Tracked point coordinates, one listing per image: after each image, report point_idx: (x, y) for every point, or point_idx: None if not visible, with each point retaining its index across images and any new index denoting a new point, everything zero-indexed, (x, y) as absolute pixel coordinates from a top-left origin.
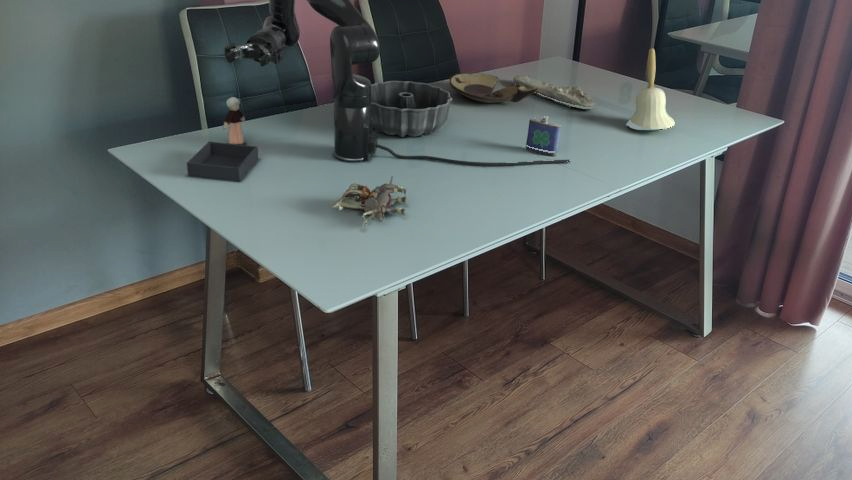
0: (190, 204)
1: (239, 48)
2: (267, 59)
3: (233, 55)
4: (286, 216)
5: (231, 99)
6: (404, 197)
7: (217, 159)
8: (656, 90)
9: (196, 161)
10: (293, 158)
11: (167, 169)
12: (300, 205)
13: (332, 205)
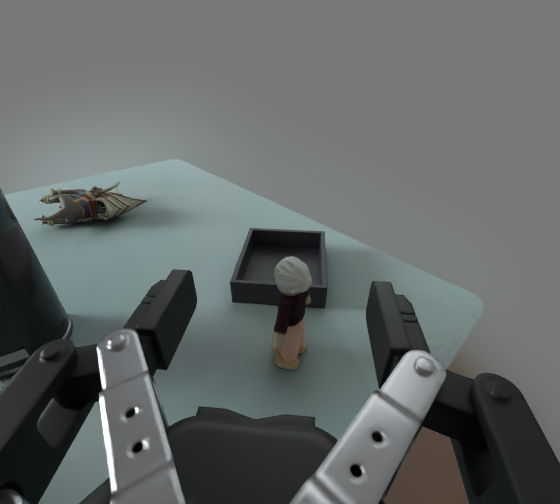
0: (292, 211)
1: (381, 394)
2: (146, 299)
3: (379, 337)
4: (193, 205)
5: (292, 256)
6: (44, 217)
7: None
8: None
9: (320, 251)
10: None
11: (360, 260)
12: (176, 217)
13: (141, 200)
